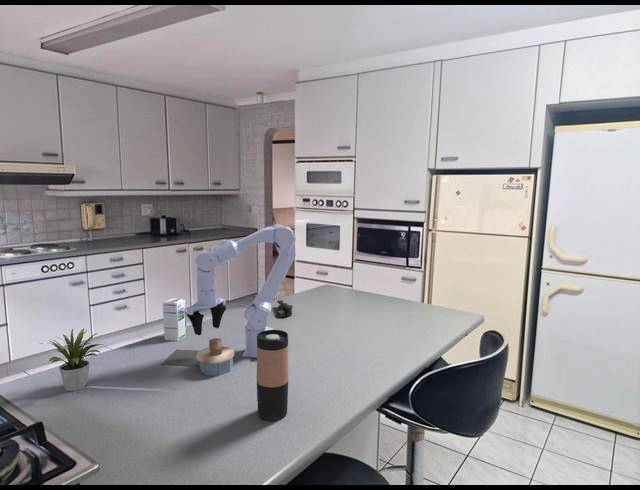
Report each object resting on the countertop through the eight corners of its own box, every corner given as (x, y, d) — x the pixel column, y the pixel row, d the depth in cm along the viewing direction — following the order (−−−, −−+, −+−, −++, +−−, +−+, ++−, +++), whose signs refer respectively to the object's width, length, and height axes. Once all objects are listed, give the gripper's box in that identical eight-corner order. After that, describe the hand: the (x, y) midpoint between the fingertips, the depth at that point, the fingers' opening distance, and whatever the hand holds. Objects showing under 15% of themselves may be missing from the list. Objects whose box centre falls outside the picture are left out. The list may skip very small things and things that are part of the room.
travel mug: (257, 405, 103) (257, 329, 101) (288, 404, 104) (288, 329, 101) (255, 422, 96) (255, 340, 93) (288, 421, 97) (288, 340, 94)
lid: (238, 349, 128) (238, 334, 127) (228, 364, 117) (228, 348, 116) (204, 348, 128) (203, 333, 128) (190, 362, 118) (190, 346, 117)
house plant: (57, 408, 101) (52, 344, 99) (30, 392, 108) (25, 333, 106) (112, 385, 113) (109, 328, 111) (85, 373, 120) (81, 319, 118)
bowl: (235, 364, 127) (235, 350, 127) (227, 377, 118) (226, 363, 118) (207, 363, 128) (206, 349, 127) (196, 376, 119) (196, 361, 118)
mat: (211, 352, 136) (211, 350, 136) (198, 368, 124) (198, 366, 124) (176, 351, 137) (176, 349, 137) (160, 366, 125) (160, 364, 125)
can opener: (294, 318, 175) (294, 305, 174) (278, 319, 173) (278, 306, 172) (287, 306, 192) (287, 295, 191) (272, 307, 190) (272, 295, 189)
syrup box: (178, 342, 145) (177, 302, 143) (163, 341, 146) (162, 301, 144) (187, 336, 150) (185, 298, 149) (172, 335, 152) (171, 297, 150)
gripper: (214, 283, 136) (215, 322, 138) (179, 292, 124) (180, 335, 126) (230, 286, 133) (230, 326, 134) (195, 295, 120) (196, 339, 122)
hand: (207, 330), depth 130 cm, fingers open, 7 cm apart
